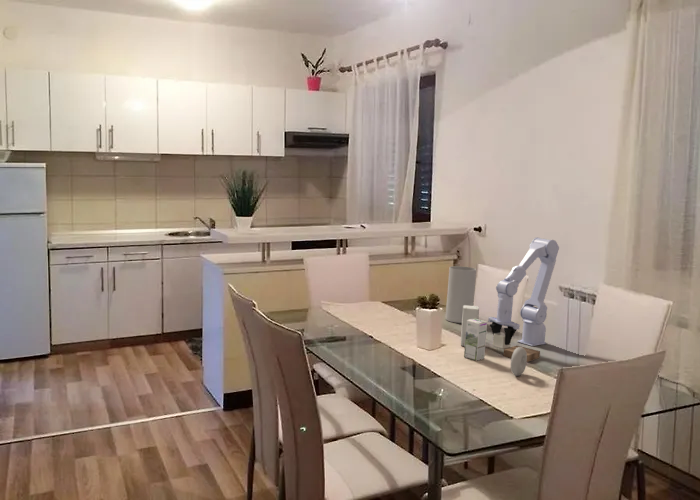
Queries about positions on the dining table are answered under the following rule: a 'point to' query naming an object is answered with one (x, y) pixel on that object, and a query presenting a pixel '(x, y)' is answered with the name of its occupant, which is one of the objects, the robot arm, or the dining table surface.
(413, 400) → the dining table surface
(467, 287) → the cylinder vase
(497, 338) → the cube
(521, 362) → the donut
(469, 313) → the skincare box
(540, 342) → the robot arm
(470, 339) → the syrup box
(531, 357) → the slab
